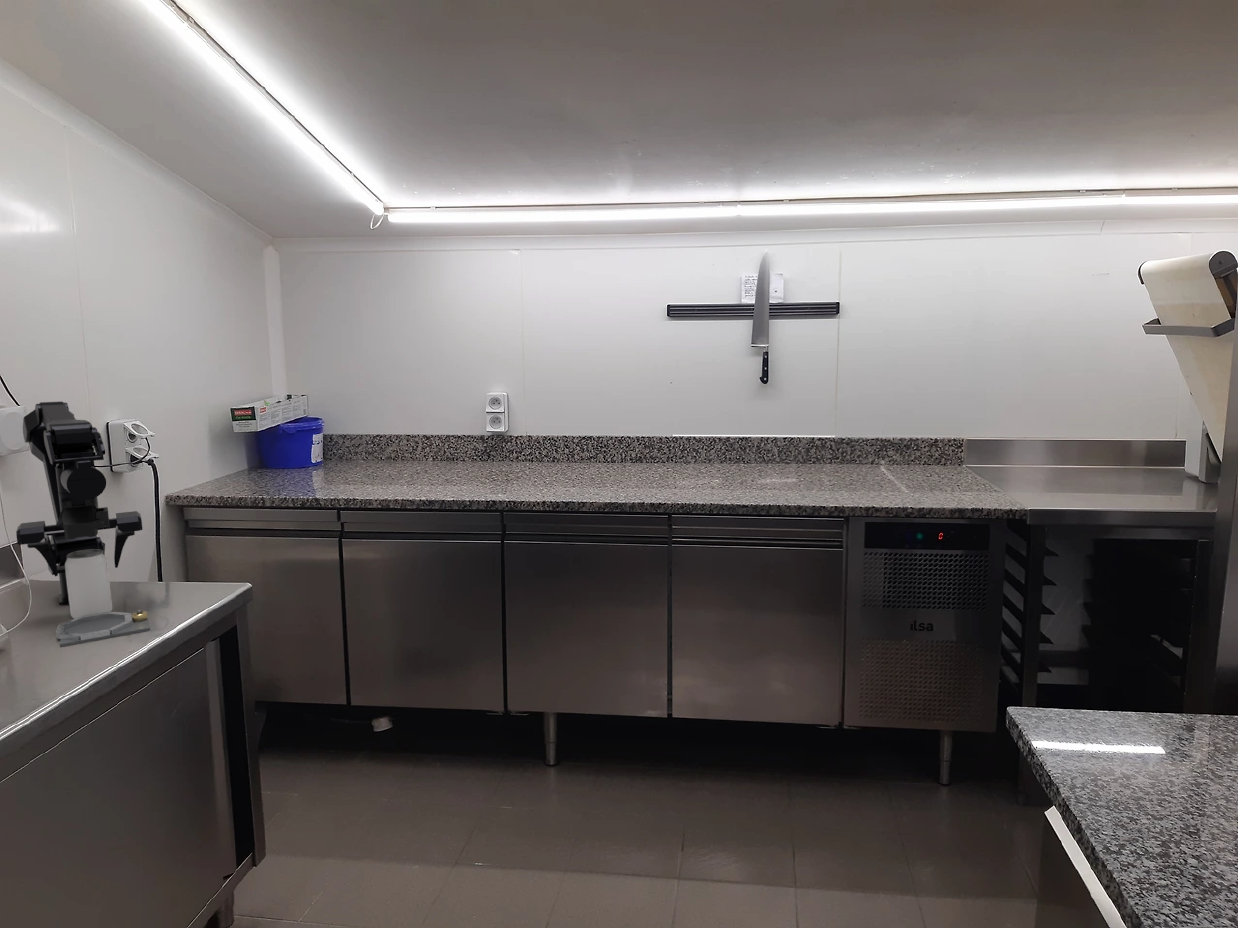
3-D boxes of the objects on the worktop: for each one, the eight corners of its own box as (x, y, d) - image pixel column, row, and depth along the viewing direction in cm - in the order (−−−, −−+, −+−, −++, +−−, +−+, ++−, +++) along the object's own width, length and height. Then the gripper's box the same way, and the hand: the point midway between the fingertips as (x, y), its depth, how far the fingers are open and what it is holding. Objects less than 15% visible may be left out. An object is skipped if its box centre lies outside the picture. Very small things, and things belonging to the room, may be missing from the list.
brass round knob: (132, 618, 138) (131, 609, 137) (147, 616, 139) (146, 607, 139) (132, 622, 136) (131, 613, 135) (148, 620, 137) (147, 610, 137)
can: (91, 621, 137) (84, 559, 135) (62, 619, 139) (54, 557, 137) (121, 609, 144) (114, 549, 142) (92, 606, 145) (85, 547, 143)
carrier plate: (61, 628, 134) (61, 625, 134) (146, 613, 142) (146, 610, 142) (60, 647, 126) (59, 644, 126) (150, 630, 134) (149, 627, 134)
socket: (58, 624, 135) (57, 620, 135) (130, 611, 141) (130, 607, 141) (56, 644, 126) (55, 640, 126) (133, 630, 132) (132, 626, 132)
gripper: (8, 505, 125) (20, 593, 128) (139, 492, 136) (148, 574, 139) (14, 492, 134) (24, 575, 137) (136, 482, 145) (144, 559, 148)
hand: (86, 571), depth 140 cm, fingers open, 9 cm apart
